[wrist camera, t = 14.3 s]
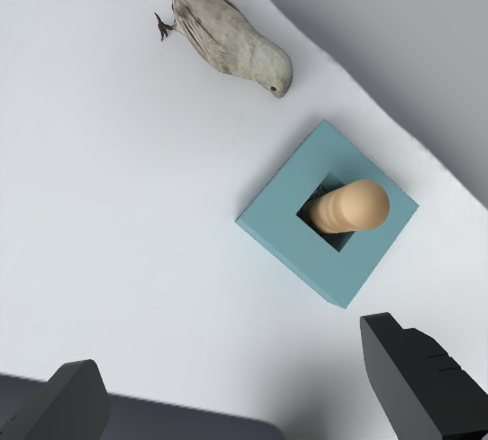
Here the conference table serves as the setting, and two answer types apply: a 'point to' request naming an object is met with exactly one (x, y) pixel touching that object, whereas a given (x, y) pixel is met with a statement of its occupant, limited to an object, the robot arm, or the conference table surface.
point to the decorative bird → (231, 43)
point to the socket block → (308, 241)
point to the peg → (348, 208)
